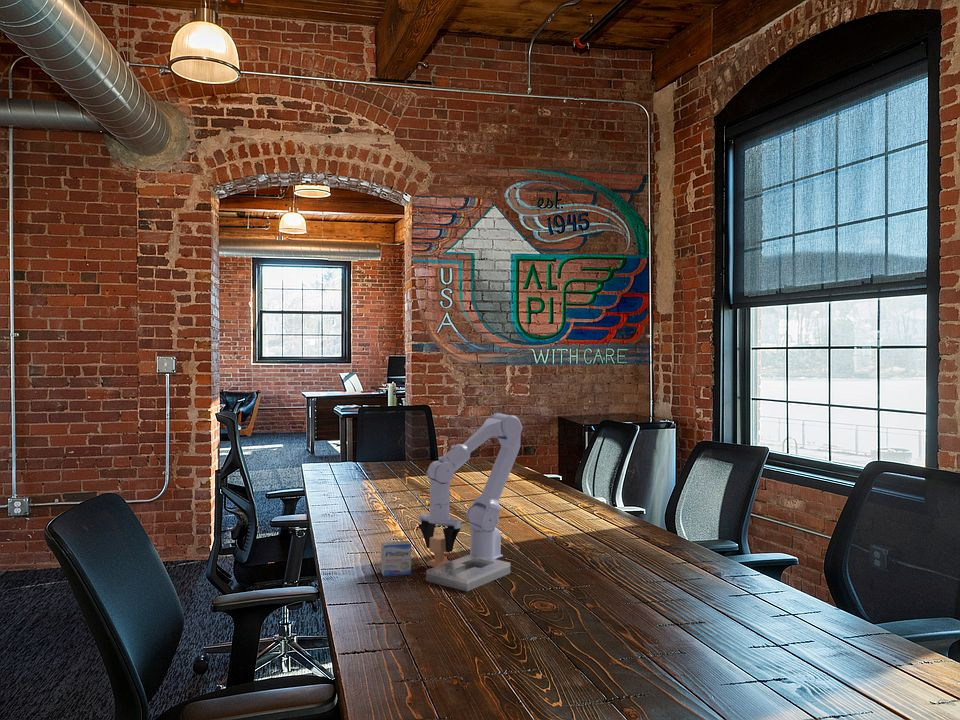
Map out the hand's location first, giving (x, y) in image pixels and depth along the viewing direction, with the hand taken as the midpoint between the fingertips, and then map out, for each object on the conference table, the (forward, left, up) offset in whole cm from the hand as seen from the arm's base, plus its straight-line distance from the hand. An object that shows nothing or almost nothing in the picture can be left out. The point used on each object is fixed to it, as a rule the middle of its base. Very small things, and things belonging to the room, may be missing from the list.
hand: (439, 549), depth 218 cm
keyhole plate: (+4, +14, -4) cm, 15 cm away
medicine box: (+14, -4, -5) cm, 15 cm away
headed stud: (0, 0, -4) cm, 4 cm away
